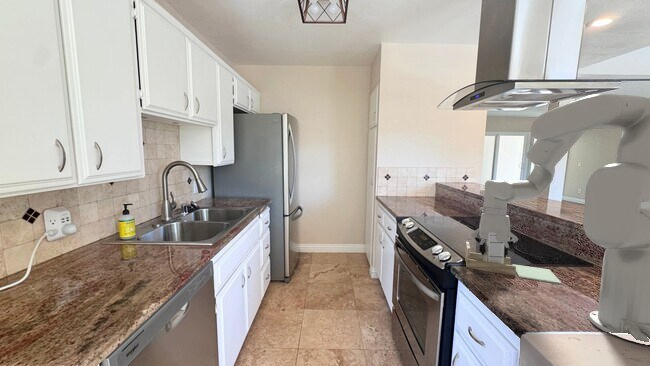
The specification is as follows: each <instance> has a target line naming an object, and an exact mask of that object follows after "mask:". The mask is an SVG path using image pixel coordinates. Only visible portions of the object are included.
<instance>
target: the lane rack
mask: <svg viewBox="0 0 650 366" xmlns="http://www.w3.org/2000/svg"><path fill="white" fill-rule="evenodd" d="M470 245H471V244H470V242H469V241H465V254H464V255H465V256H464V257H465V259H464V260H465V265H466V269H473V270H477V271H484V272H489V273H490V272H491V273H494V274H495V273H498V274H501V275H502V274H503V275H510V276H516V274H517V273H516V266H514V265H512V264H511V261H512V259H511V257H509V256H506V258H504V264H500V263H493V262H487V261H483V255H482V254H481V252H479V253H478V252H472V251H471V246H470Z"/></svg>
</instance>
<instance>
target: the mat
mask: <svg viewBox="0 0 650 366" xmlns="http://www.w3.org/2000/svg"><path fill="white" fill-rule="evenodd" d="M511 265H514V266H516V273H515V274H517V276H518V277H519V278H522V279H526V280H533V281H541V282H547V283H553V284H557V285H558V284H560V285H562V281H561V280H560V279H559V278H558V277H557V276H556V275H555V274H554V272H552V270H551V269H548V268H541V267H534V266H528V265H520V264H512V263H511Z"/></svg>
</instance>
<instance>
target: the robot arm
mask: <svg viewBox="0 0 650 366" xmlns="http://www.w3.org/2000/svg"><path fill="white" fill-rule="evenodd" d="M589 130H591V131H592V130H619V131H621V132H622V133H623V134H622V136H621V138H620V140H619V142H618V145H617V148H616V158H615V159H616V160H615V162H614V163H611V164H606V165H604V166H601V167H599V168H598V169H596V170H595V171H594V172H593V173H591V175H590V176H589V178H588V179H587V182H586V187H585V194H584V195H585V196H584V205H583V217H582V221H583V222H582V223H583V225H582V226H583V232H584V233H585V235H586V237H587V238H588V239H589V240H590V241H591V242H592V243H593V244H594V245H597V246H598V247H601V248H604V249H605V251H604V254H603V260H602V268H601V276H600V277H601V280H600V285H599V286H600V288H599V298H598V308H597V309H598V310H593V311H591V312H589V315H588V319H589V321H590V322H591V323H592V324H593V325H594V326H595V327H597V328H598V329H600V330H601V331H603V332H605V333H607V332H611V333H628V334H631V335H632V336H633V337H634V338H635V339H636V340H640V341H644V342H649V339H650V208H647V207H641V205H642V203H648V202H650V97H645V96H639V95H628V94H613V93H597V94H592V95H588V96H585V97H581V98H579V99H576V100H574V101H571V102H569V103H566V104H563V105H561V106H558V107H555V108H553V109H551V110H547V111H545V112H543V113H542V114H540V115H538V116H537V117H536V118H535V119H534V121H532V123H531V125H530V134H531V136H532V137H533V138H534V139H535V142H534V143H533V144H532V146H531V147H530V148H529V149H528V151H527V152H526V158H527V159H528V160H529V161H530V163H532V164H533V165H534V166H533V169H532V171H531V172H530V173H529V175H528V176H527V177H526V178H525V179H524V180H507V181H506V180H501V179H496V180H495V179H489V180H486V181H485V183H484V196H483V200H484V201H483V206H481V207H479V212H482V213H481V215H480V219H479V227H478V228H477V229H476V230H474V231H472V232H471V233H470V236H471V237H472V238H473V239H474V240H475V242H477V243H478V244H479V249H478V251H479V253H481V254H482V255H484V242H485V240H488V233H496V240H497V241H503V242H504V258H506V257H507V256H508V254H509V253H508V252H509V248H510V247H511V246H513V245H514V244H515V243H516V242H518V240H519V238H518V237H517V235H515V234H514V233H513V232H511V221H510V216H509V215H508V214H507V211H508V209H507V207H508V203H511V202H514V203H515V202H530V201H534V200H536V199H537V198H538V197H540V196H542V194H543V193H544V192H545V191H546V190H547V188H549V187H550V185H551V183H552V182H553V180H554V176H555V173H556V166H557V164H559V162H560V161H561V160H562V159H563V158H564V157H565V155H567V153H568V152H569V151H570V150H571V148H572V147H573V146H575V144H576V143H577V142H578V141H579V139H580V138H581V137H582V136H583V135H584V134H585V132H586V131H589ZM477 235H479V237H478V236H477ZM511 238H512V239H511ZM647 337H648V338H649V339H648V338H647Z"/></svg>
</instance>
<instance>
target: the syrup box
mask: <svg viewBox="0 0 650 366" xmlns="http://www.w3.org/2000/svg"><path fill="white" fill-rule="evenodd" d="M483 261H487V262H493V263H500V264H504V242H503V241H497V240H496V233H488V240H485V242H484V255H483Z"/></svg>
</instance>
